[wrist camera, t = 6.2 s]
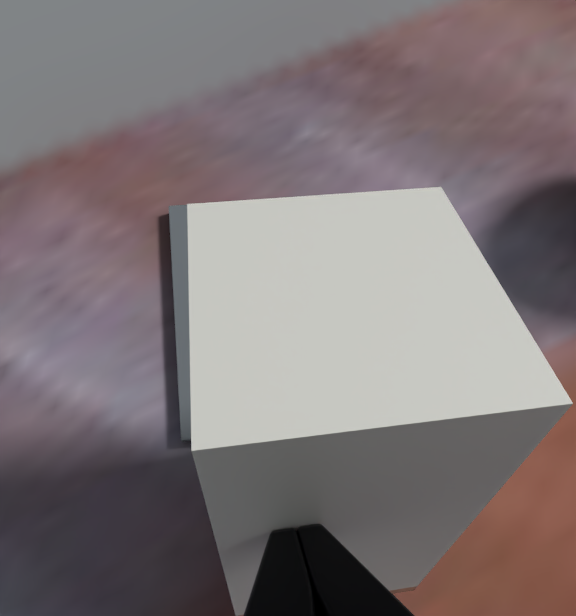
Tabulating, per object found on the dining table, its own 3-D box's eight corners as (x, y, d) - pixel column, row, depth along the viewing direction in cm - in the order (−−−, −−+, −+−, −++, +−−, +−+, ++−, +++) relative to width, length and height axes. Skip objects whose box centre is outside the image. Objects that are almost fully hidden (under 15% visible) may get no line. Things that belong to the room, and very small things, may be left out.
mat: (405, 414, 16) (408, 412, 15) (182, 441, 15) (181, 440, 15) (360, 198, 18) (363, 192, 18) (170, 212, 18) (168, 206, 17)
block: (413, 590, 13) (572, 403, 6) (236, 619, 12) (191, 450, 5) (368, 431, 16) (441, 187, 9) (225, 448, 15) (187, 203, 8)
